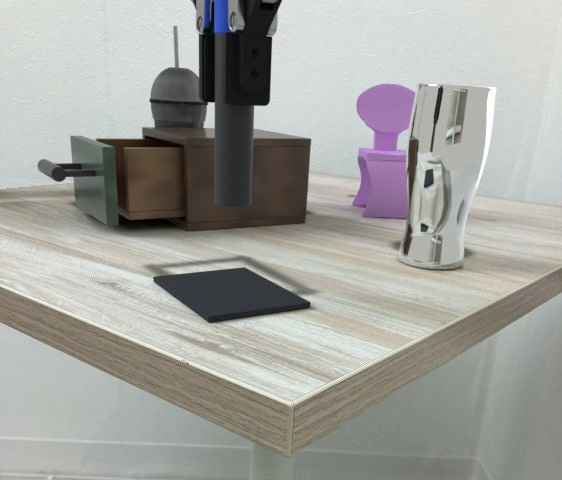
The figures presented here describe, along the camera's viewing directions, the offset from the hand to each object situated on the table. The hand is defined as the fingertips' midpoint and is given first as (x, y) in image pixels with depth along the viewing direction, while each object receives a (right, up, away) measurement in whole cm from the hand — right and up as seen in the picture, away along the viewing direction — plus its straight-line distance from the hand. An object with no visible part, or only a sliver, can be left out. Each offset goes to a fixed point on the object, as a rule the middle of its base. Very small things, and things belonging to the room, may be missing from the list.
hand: (233, 101), depth 42 cm
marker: (0, -6, +3) cm, 7 cm away
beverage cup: (-10, +5, +43) cm, 44 cm away
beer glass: (+17, -8, +18) cm, 26 cm away
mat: (-1, -12, +6) cm, 13 cm away
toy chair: (+16, +3, +41) cm, 44 cm away
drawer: (-13, -1, +27) cm, 30 cm away
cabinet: (-4, 0, +33) cm, 33 cm away
